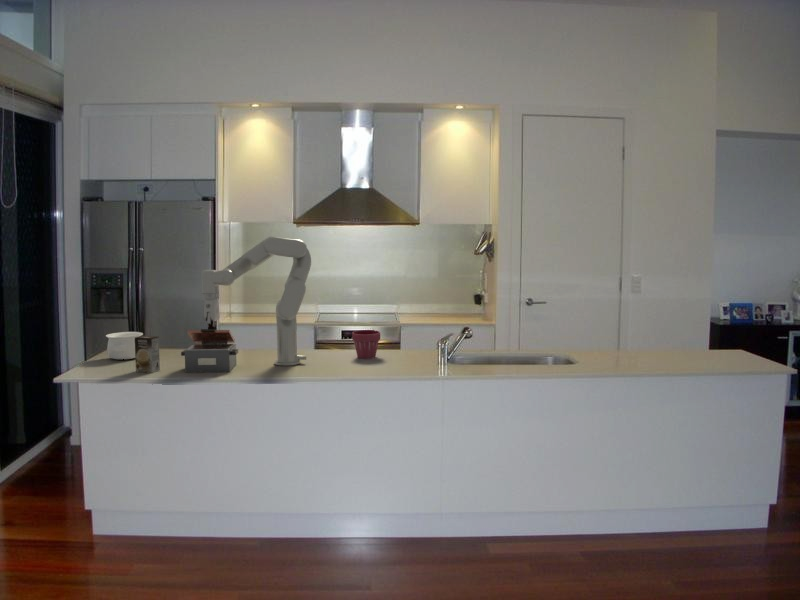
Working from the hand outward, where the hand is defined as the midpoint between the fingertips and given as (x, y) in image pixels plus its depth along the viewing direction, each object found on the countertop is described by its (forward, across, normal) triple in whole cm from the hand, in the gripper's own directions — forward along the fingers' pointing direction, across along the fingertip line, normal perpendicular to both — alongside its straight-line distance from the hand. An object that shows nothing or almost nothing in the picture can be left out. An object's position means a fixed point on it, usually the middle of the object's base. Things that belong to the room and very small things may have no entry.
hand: (212, 335), depth 328 cm
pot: (+15, +24, +50) cm, 58 cm away
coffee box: (+15, -8, +28) cm, 33 cm away
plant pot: (+16, +22, -71) cm, 76 cm away
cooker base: (+15, -4, 0) cm, 16 cm away
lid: (+1, -2, 0) cm, 3 cm away
